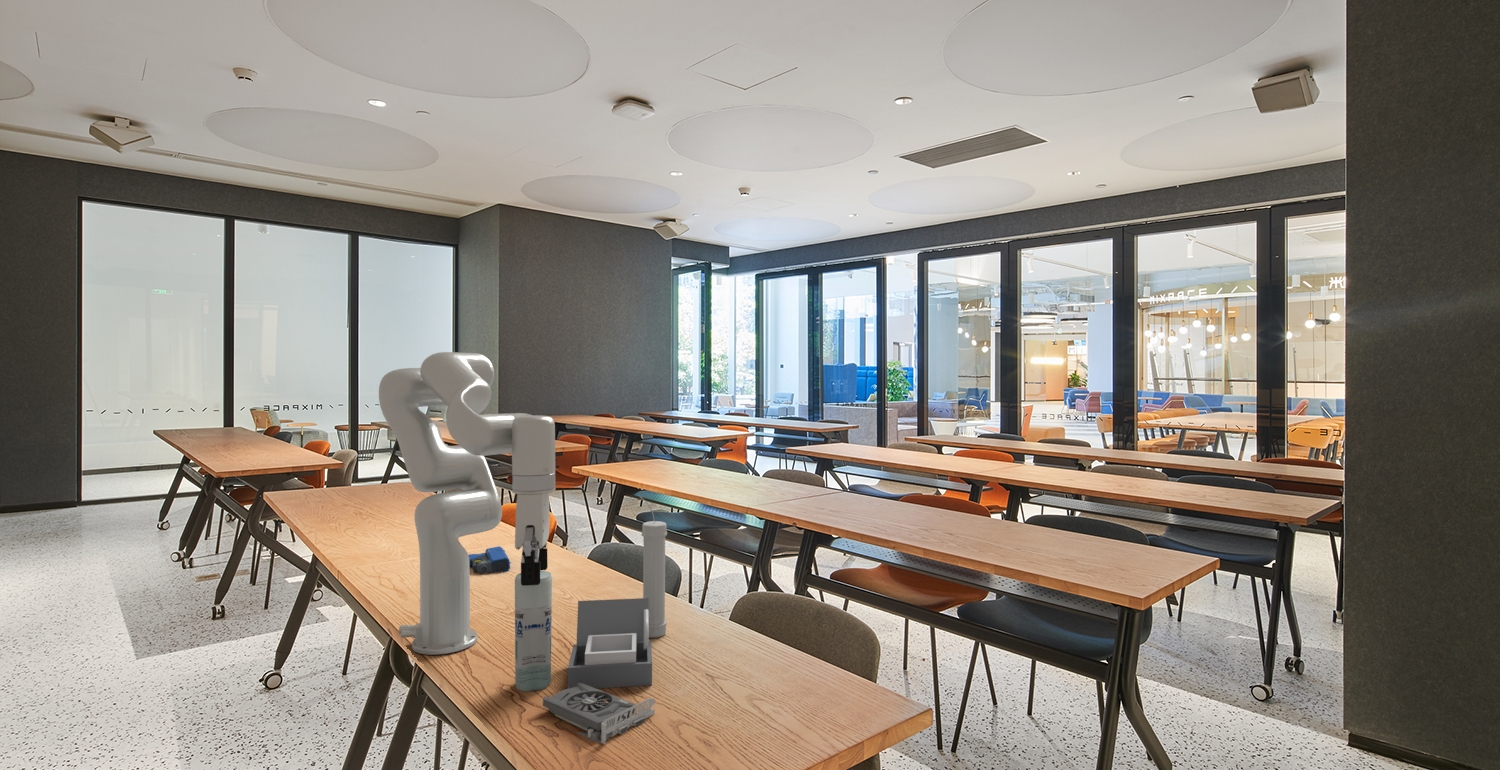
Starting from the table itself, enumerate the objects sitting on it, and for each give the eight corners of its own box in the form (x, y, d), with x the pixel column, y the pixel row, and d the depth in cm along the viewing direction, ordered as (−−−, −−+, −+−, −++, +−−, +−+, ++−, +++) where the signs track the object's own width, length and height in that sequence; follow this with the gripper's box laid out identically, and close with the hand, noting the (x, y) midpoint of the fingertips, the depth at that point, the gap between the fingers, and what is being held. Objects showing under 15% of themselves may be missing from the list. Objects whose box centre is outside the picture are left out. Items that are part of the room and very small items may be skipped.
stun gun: (453, 567, 195) (510, 556, 202) (450, 554, 209) (503, 544, 215) (455, 582, 195) (511, 571, 202) (451, 568, 209) (504, 557, 216)
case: (567, 690, 127) (567, 628, 127) (575, 654, 143) (575, 599, 142) (651, 684, 129) (652, 624, 129) (650, 650, 145) (650, 596, 145)
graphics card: (659, 697, 118) (604, 724, 108) (659, 720, 118) (604, 749, 108) (592, 672, 128) (536, 694, 118) (592, 693, 128) (536, 717, 118)
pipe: (661, 639, 151) (662, 499, 150) (634, 637, 152) (634, 498, 152) (669, 630, 156) (670, 495, 156) (643, 627, 158) (643, 494, 157)
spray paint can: (514, 679, 131) (514, 572, 131) (550, 674, 133) (550, 569, 133) (515, 694, 125) (515, 581, 125) (553, 688, 127) (553, 578, 127)
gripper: (520, 477, 136) (521, 565, 137) (503, 491, 119) (504, 592, 119) (560, 476, 138) (561, 563, 138) (549, 490, 120) (550, 590, 121)
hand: (534, 577), depth 129 cm, fingers open, 9 cm apart
